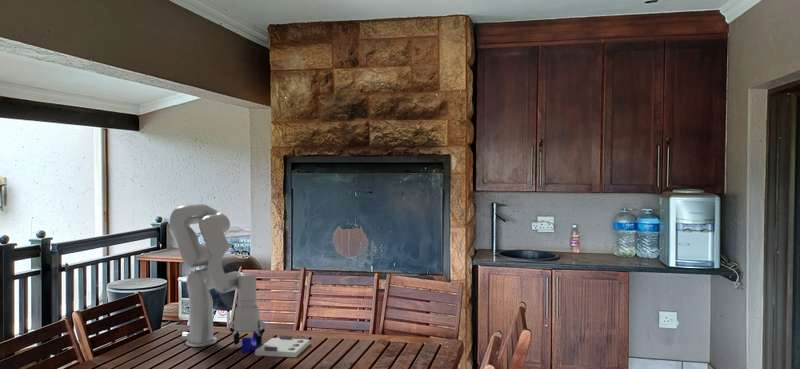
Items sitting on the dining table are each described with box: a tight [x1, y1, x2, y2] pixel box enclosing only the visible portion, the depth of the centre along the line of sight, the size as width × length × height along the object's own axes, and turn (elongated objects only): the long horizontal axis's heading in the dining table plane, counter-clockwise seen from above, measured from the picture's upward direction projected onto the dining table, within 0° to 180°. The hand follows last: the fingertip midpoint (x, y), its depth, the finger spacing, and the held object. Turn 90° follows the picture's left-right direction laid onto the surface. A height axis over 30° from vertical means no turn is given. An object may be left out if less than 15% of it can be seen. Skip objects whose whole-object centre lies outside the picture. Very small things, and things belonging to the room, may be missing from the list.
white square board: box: [254, 334, 311, 358], centre depth 223 cm, size 17×17×4 cm
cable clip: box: [241, 332, 263, 354], centre depth 225 cm, size 12×4×6 cm, turn 170°
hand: (247, 344), depth 225 cm, fingers open, 9 cm apart
